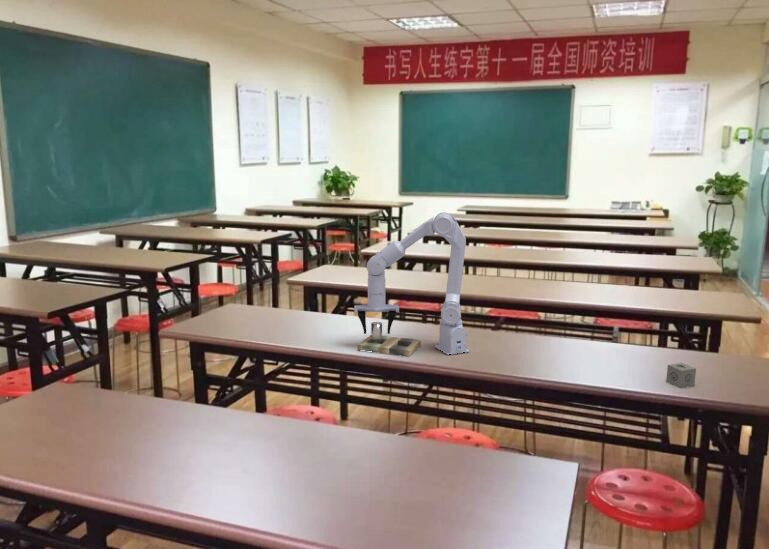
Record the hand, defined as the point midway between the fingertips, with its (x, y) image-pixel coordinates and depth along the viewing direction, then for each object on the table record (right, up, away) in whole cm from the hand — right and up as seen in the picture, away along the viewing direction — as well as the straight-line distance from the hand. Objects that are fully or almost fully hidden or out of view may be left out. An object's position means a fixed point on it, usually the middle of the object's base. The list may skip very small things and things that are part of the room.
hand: (376, 333), depth 205 cm
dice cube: (+84, -11, -32) cm, 91 cm away
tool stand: (+4, -5, -1) cm, 6 cm away
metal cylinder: (0, -5, +1) cm, 5 cm away
